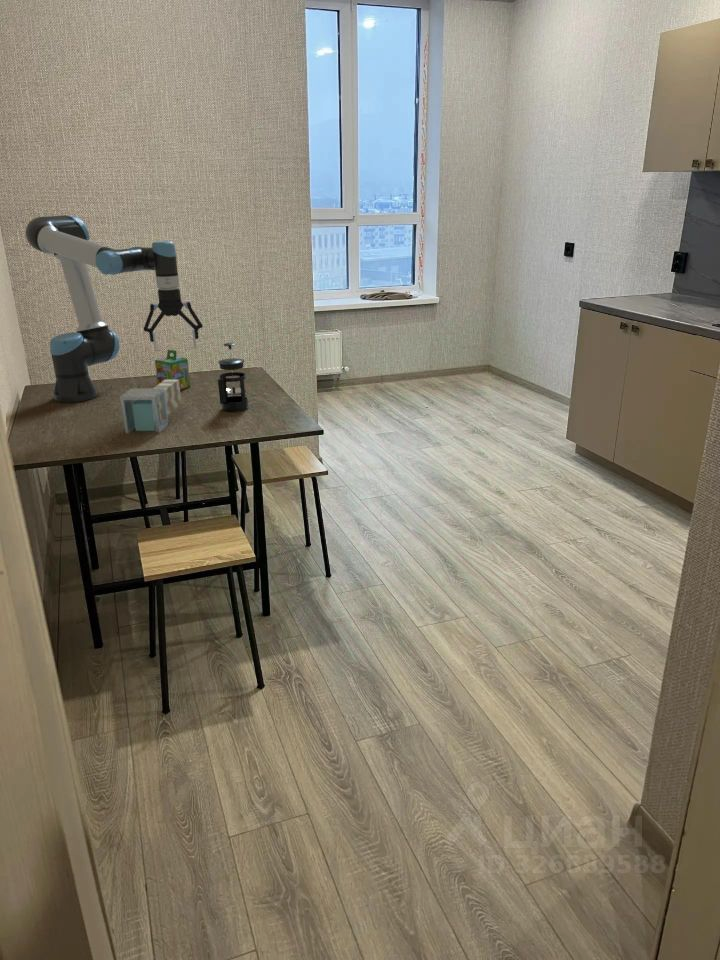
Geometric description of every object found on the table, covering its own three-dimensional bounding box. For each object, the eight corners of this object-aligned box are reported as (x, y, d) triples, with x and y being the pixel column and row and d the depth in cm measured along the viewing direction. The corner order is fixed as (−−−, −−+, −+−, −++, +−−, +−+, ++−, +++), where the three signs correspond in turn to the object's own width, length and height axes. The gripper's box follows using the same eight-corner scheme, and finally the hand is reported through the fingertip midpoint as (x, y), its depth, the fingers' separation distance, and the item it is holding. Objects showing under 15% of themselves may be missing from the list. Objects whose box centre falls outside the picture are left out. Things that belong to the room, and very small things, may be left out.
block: (135, 430, 226) (131, 403, 223) (142, 425, 232) (138, 398, 228) (154, 430, 226) (150, 403, 223) (159, 425, 232) (156, 398, 228)
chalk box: (157, 389, 275) (152, 351, 269) (174, 384, 282) (170, 347, 276) (174, 392, 270) (169, 354, 264) (191, 386, 277) (187, 349, 272)
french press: (236, 402, 255) (230, 339, 246) (255, 406, 250) (250, 342, 241) (212, 410, 246) (206, 345, 237) (232, 414, 241) (226, 348, 232)
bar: (160, 421, 235) (157, 395, 232) (146, 421, 236) (142, 395, 232) (181, 403, 256) (178, 379, 252) (168, 403, 256) (165, 379, 253)
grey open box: (159, 433, 224) (154, 396, 219) (125, 433, 224) (119, 396, 220) (168, 423, 233) (164, 388, 228) (136, 423, 233) (130, 388, 229)
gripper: (130, 291, 237) (139, 353, 245) (205, 287, 242) (211, 349, 250) (131, 288, 243) (140, 349, 252) (204, 285, 249) (210, 345, 257)
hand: (175, 349), depth 251 cm, fingers open, 13 cm apart
